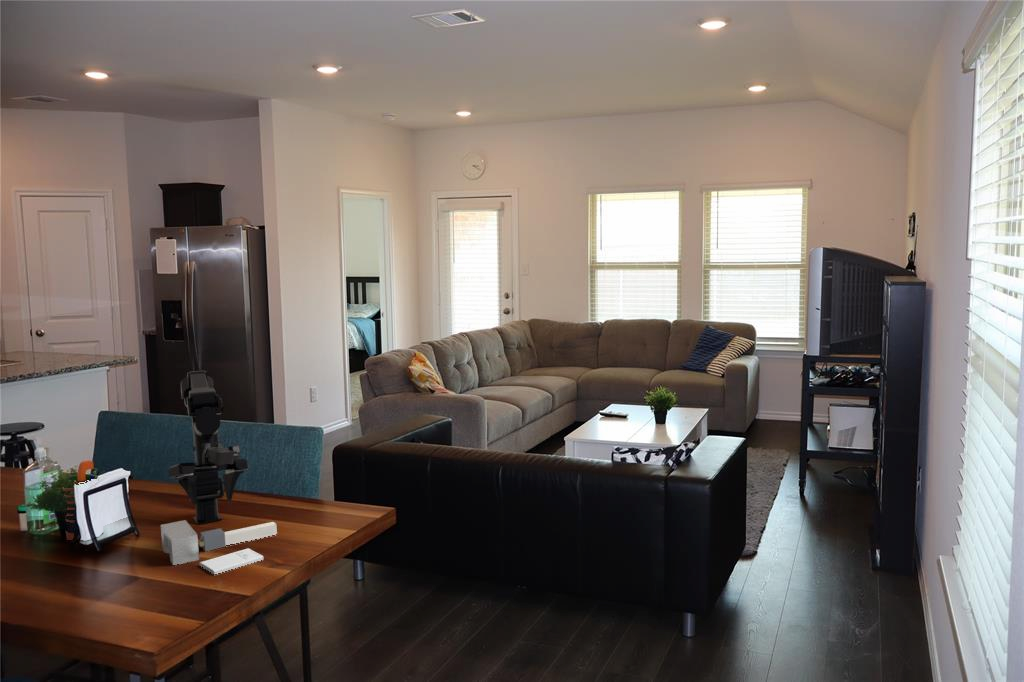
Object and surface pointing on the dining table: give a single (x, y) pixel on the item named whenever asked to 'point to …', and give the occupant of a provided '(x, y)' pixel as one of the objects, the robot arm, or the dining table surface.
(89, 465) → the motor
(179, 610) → the dining table surface
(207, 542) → the cable plug
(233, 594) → the dining table surface
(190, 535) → the block
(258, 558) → the external hard drive
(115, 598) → the dining table surface
